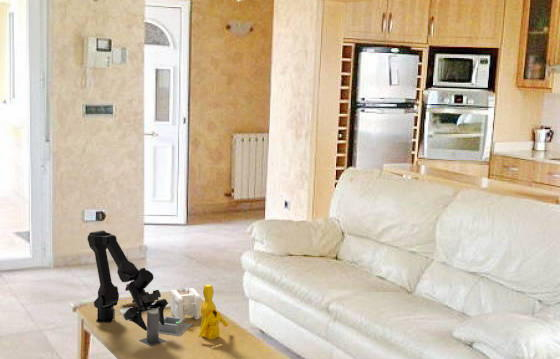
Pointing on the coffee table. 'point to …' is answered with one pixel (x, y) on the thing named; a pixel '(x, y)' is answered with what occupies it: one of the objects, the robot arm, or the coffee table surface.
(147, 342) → the pad
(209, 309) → the figure statuette
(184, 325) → the port
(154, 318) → the grey cylindrical piece
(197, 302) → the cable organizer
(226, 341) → the coffee table surface
